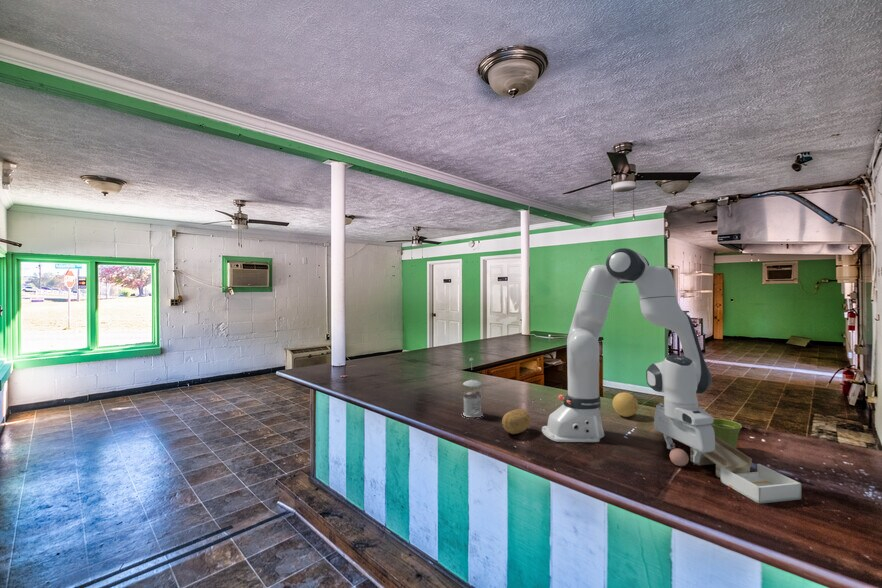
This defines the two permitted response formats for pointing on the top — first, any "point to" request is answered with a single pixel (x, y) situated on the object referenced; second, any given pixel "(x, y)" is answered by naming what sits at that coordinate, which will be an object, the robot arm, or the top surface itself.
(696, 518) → the top surface
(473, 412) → the french press
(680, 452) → the rubber ball
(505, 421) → the potato
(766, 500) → the tray
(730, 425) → the plant pot
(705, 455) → the launch ramp
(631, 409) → the stress ball
